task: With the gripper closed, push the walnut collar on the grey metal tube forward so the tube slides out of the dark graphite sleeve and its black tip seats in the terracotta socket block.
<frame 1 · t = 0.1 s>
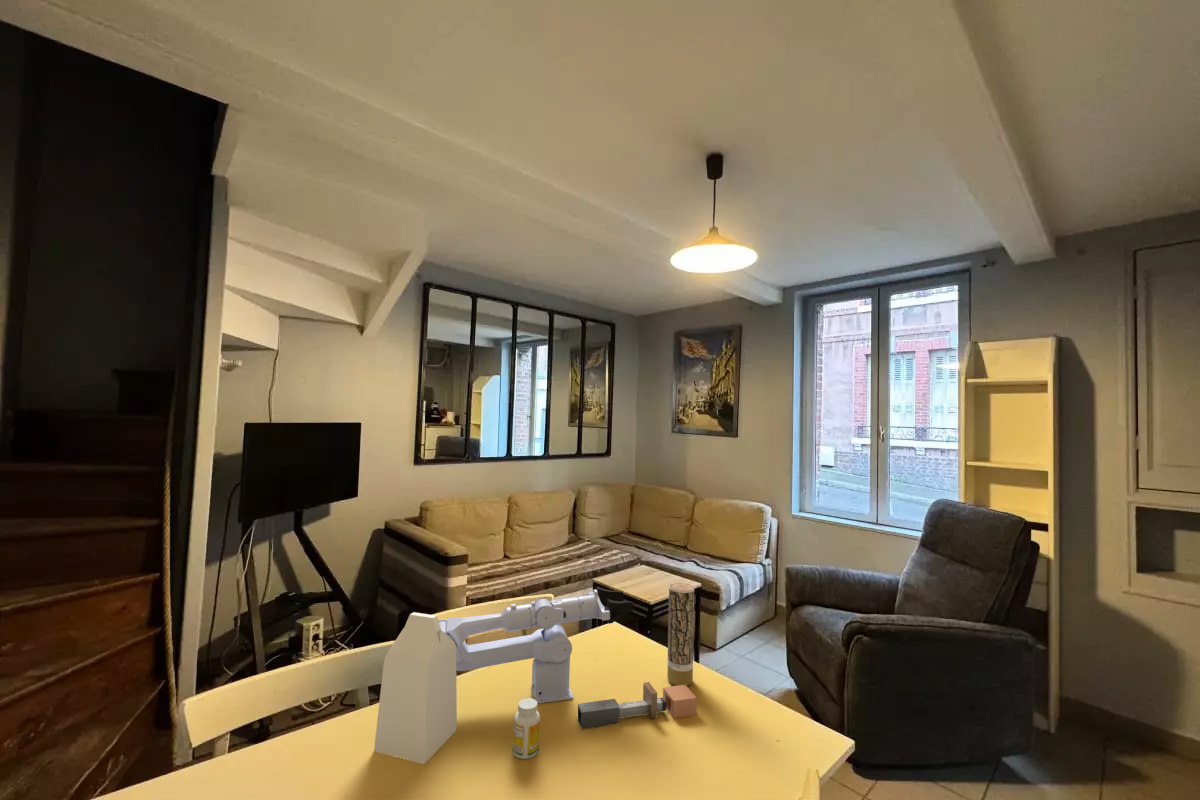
hand: (627, 600, 127), 22 cm above the table, tool horizontal, fingers open, 7 cm apart
milk: (416, 741, 101), on the table
sleeve: (598, 721, 109), on the table
supplement bottle: (525, 752, 99), on the table
socket block: (679, 709, 115), on the table
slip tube: (627, 703, 112), point 3 cm above the table, slide at 0.0 cm
paper tube: (679, 681, 128), on the table
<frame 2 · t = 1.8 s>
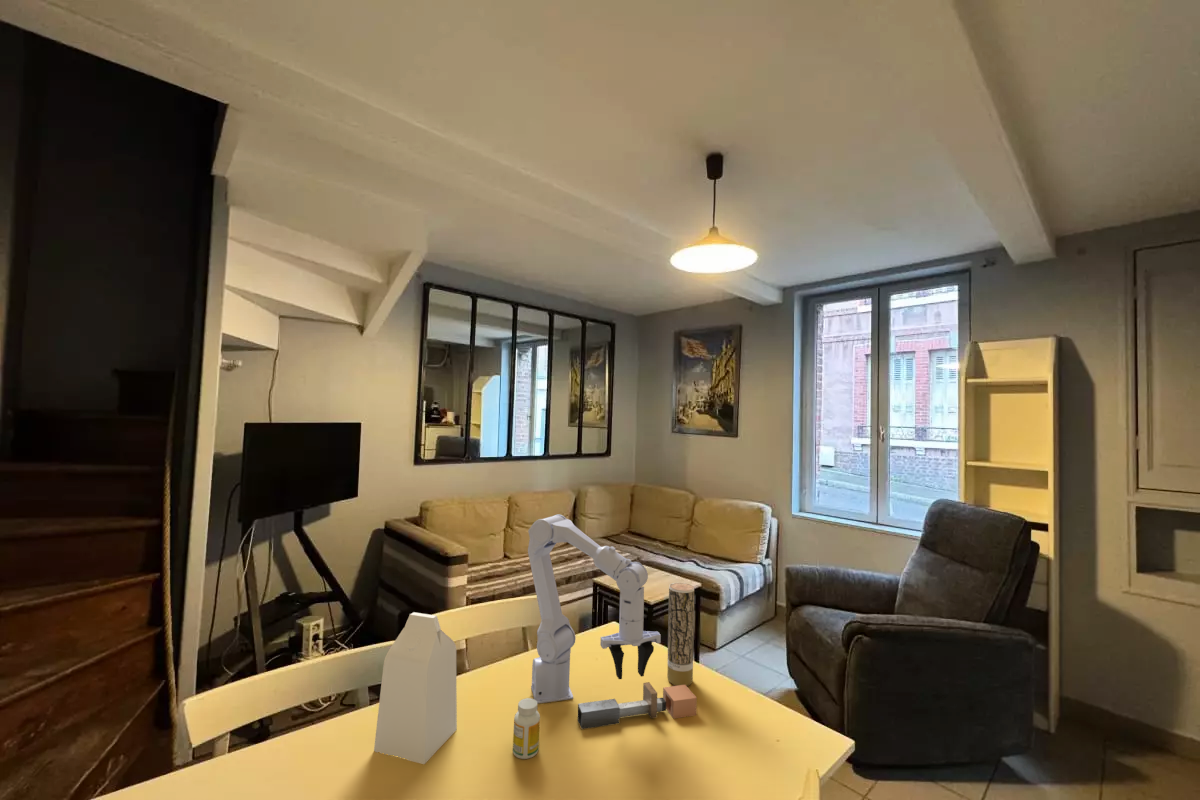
hand: (629, 675, 112), 9 cm above the table, tool pointing down, fingers open, 5 cm apart
nothing on the table moved.
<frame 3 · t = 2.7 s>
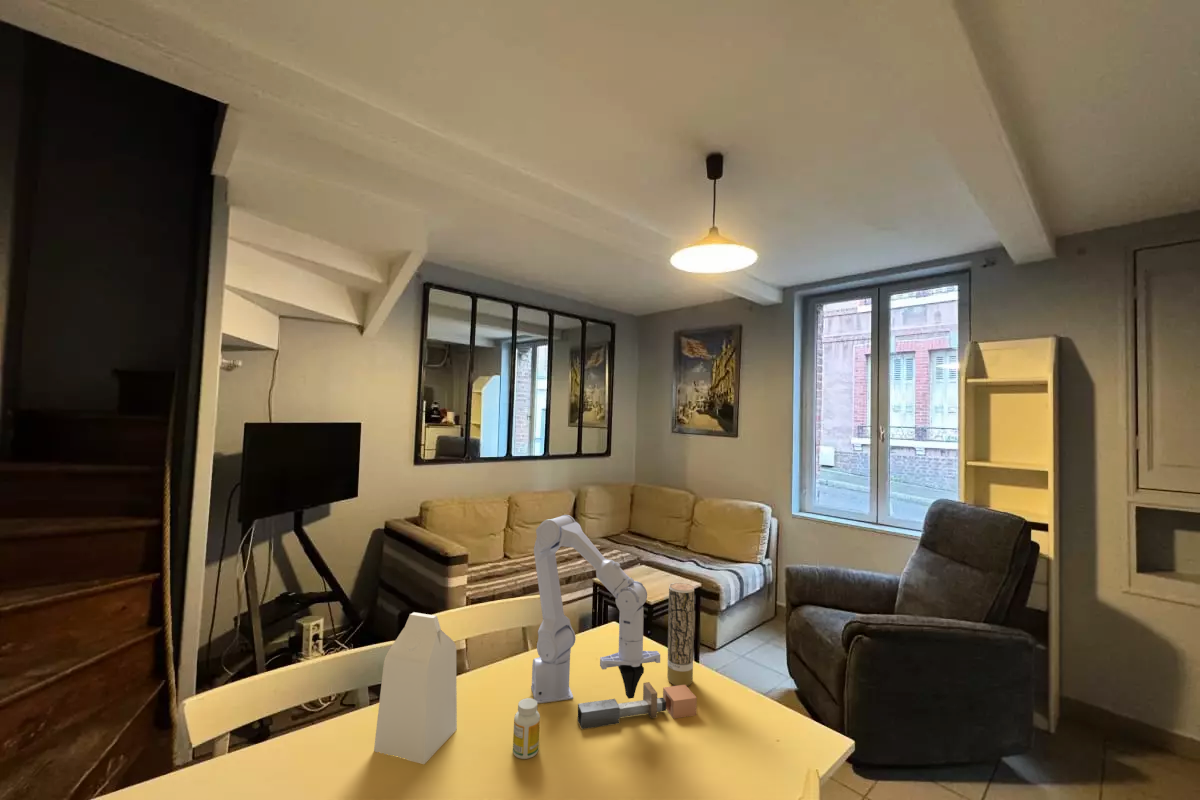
hand: (629, 696, 112), 5 cm above the table, tool pointing down, fingers closed
nothing on the table moved.
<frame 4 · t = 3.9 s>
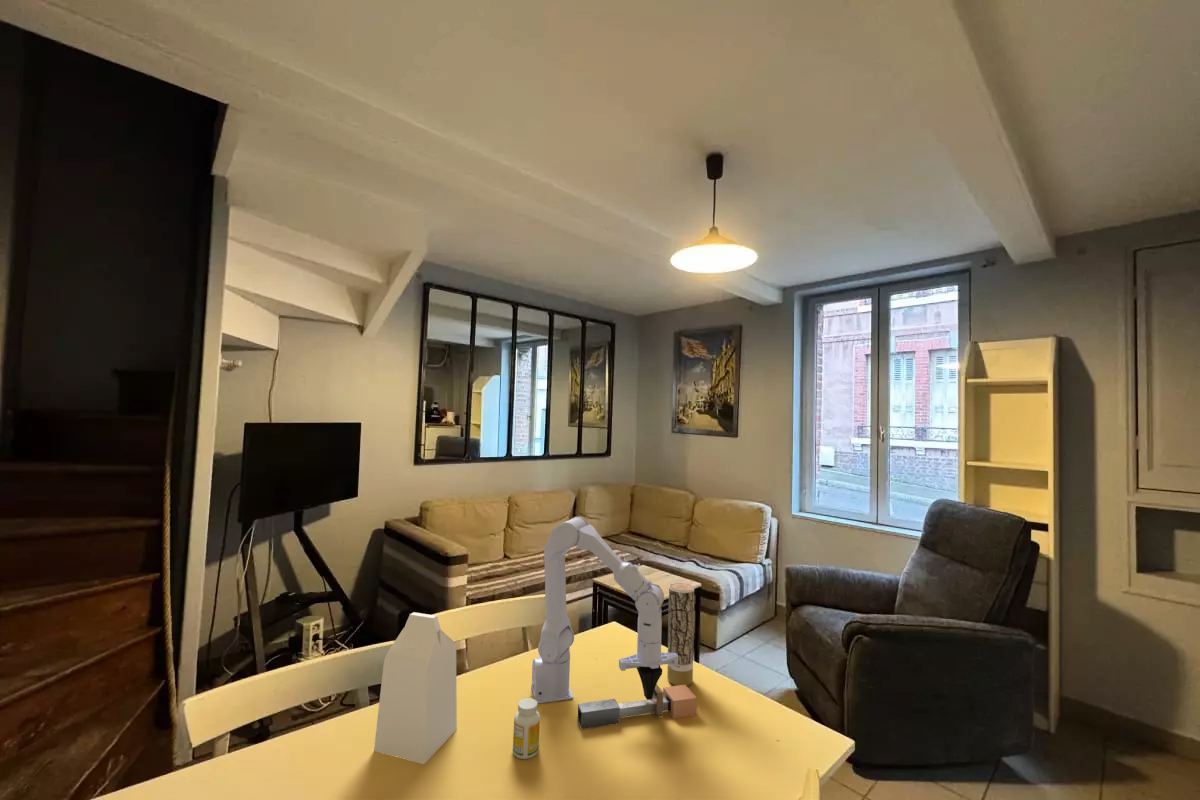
hand: (648, 697, 113), 4 cm above the table, tool pointing down, fingers closed
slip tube: (633, 702, 112), point 3 cm above the table, slide at 1.5 cm, touching gripper
everything else where it was.
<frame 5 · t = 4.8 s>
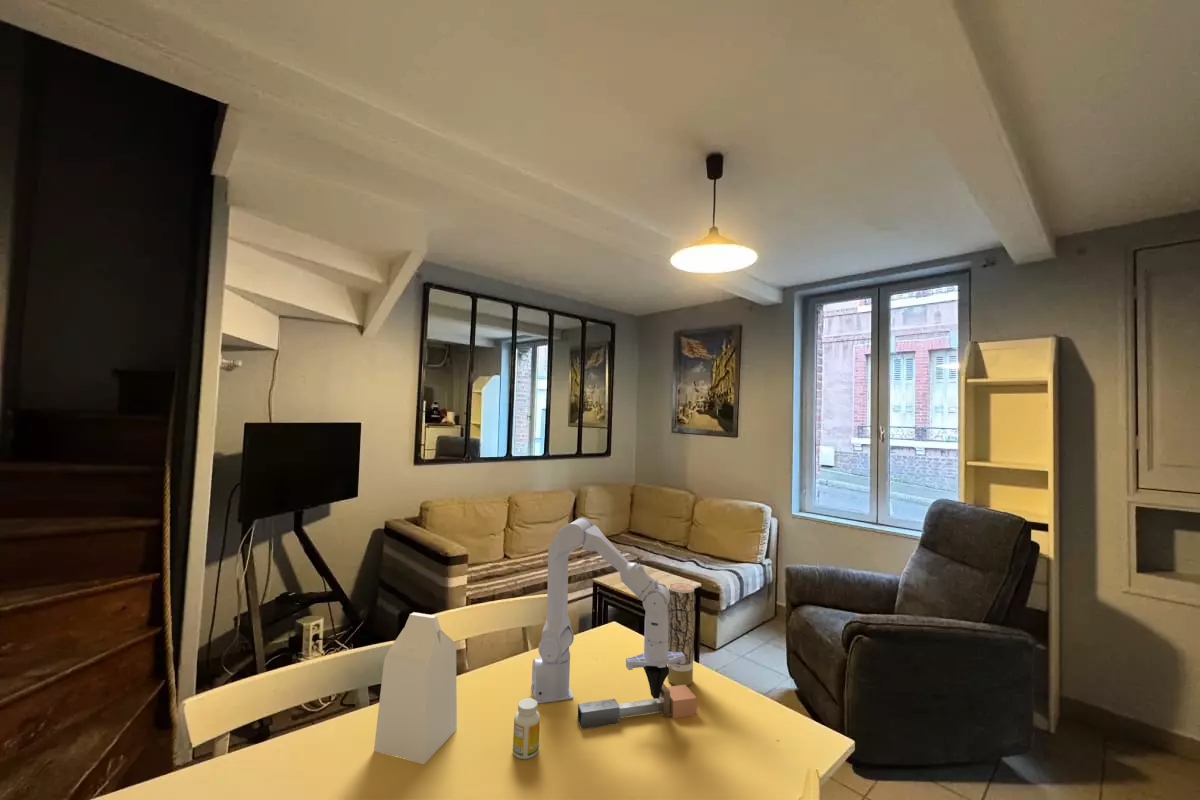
hand: (654, 696, 114), 4 cm above the table, tool pointing down, fingers closed
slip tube: (640, 701, 112), point 3 cm above the table, slide at 3.3 cm, touching gripper
everything else where it was.
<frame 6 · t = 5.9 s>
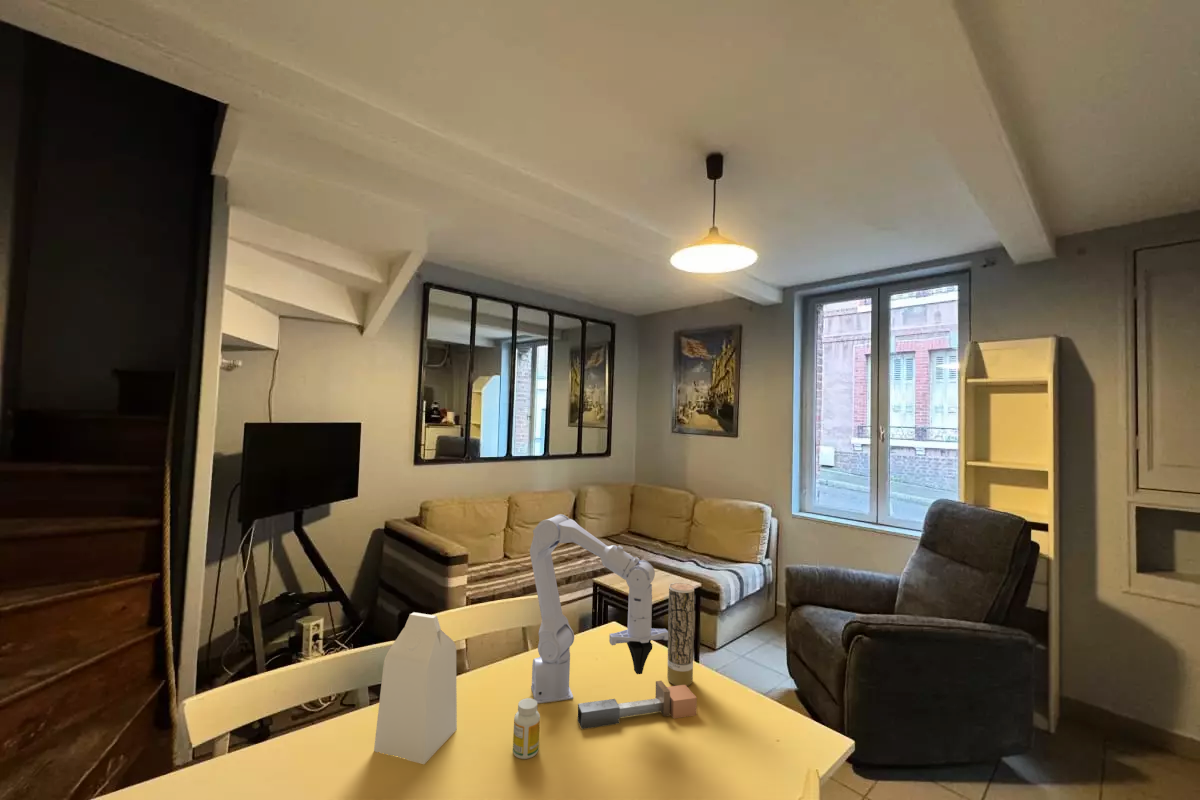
hand: (638, 672, 114), 9 cm above the table, tool pointing down, fingers closed
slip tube: (640, 701, 112), point 3 cm above the table, slide at 3.3 cm
everything else where it was.
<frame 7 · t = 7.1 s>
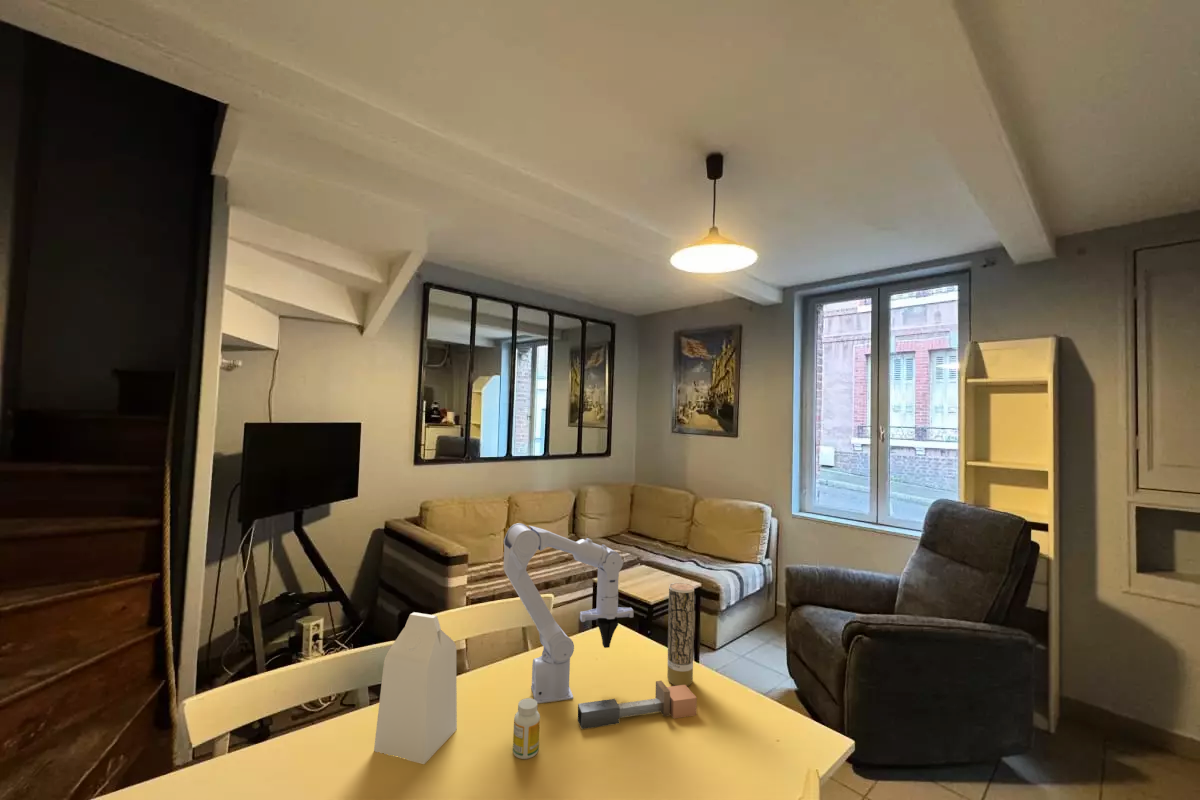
hand: (606, 646, 127), 9 cm above the table, tool pointing down, fingers closed
nothing on the table moved.
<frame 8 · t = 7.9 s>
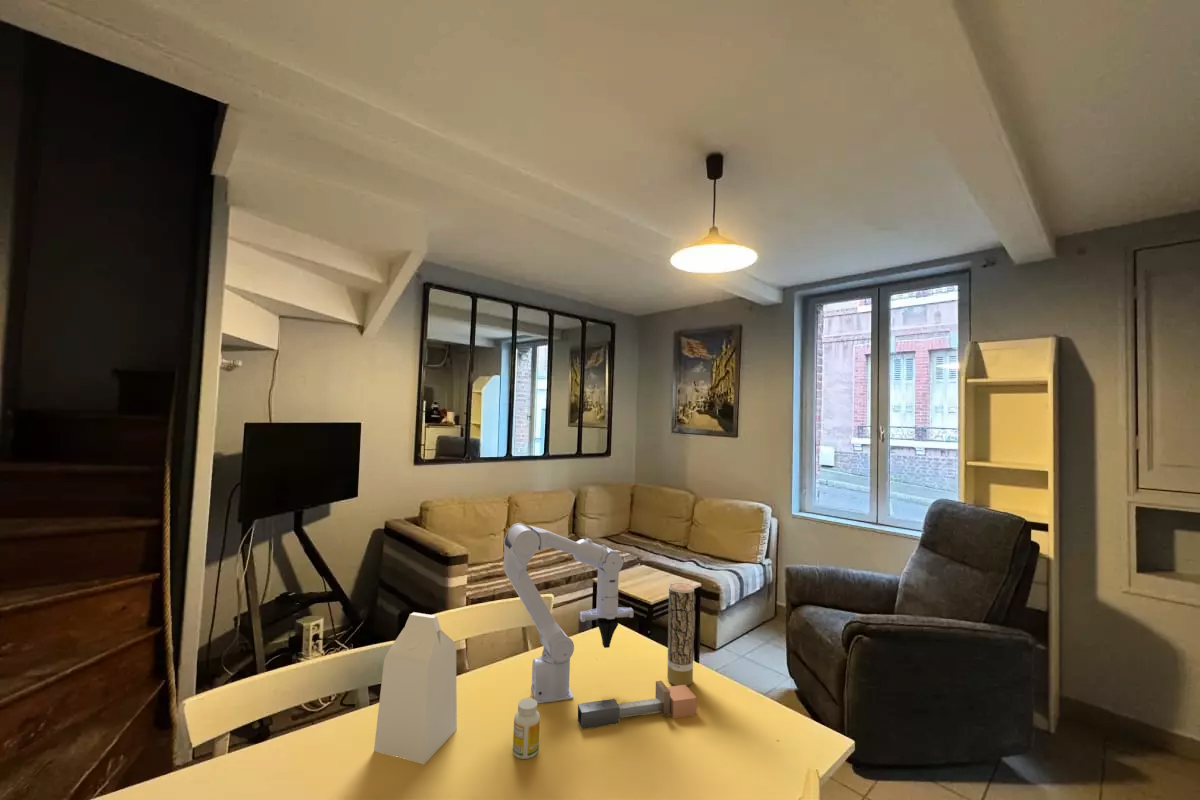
hand: (606, 646, 127), 9 cm above the table, tool pointing down, fingers closed
nothing on the table moved.
at the end: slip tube slide at 3.3 cm; the gripper is holding nothing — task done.
